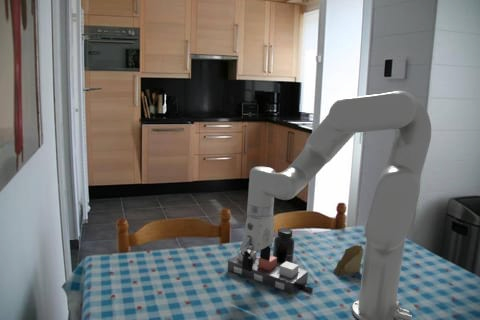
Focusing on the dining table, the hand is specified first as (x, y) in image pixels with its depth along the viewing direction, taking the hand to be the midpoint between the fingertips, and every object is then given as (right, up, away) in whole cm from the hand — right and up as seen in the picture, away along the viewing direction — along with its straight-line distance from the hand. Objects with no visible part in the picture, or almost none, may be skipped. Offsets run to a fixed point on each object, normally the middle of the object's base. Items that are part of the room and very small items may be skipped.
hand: (256, 264), depth 128 cm
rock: (+30, -6, +14) cm, 34 cm away
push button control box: (+5, -6, +5) cm, 9 cm away
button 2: (+4, -5, +6) cm, 9 cm away
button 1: (+10, -6, +2) cm, 12 cm away
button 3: (-3, -4, +10) cm, 12 cm away
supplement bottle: (+9, -4, +17) cm, 20 cm away
